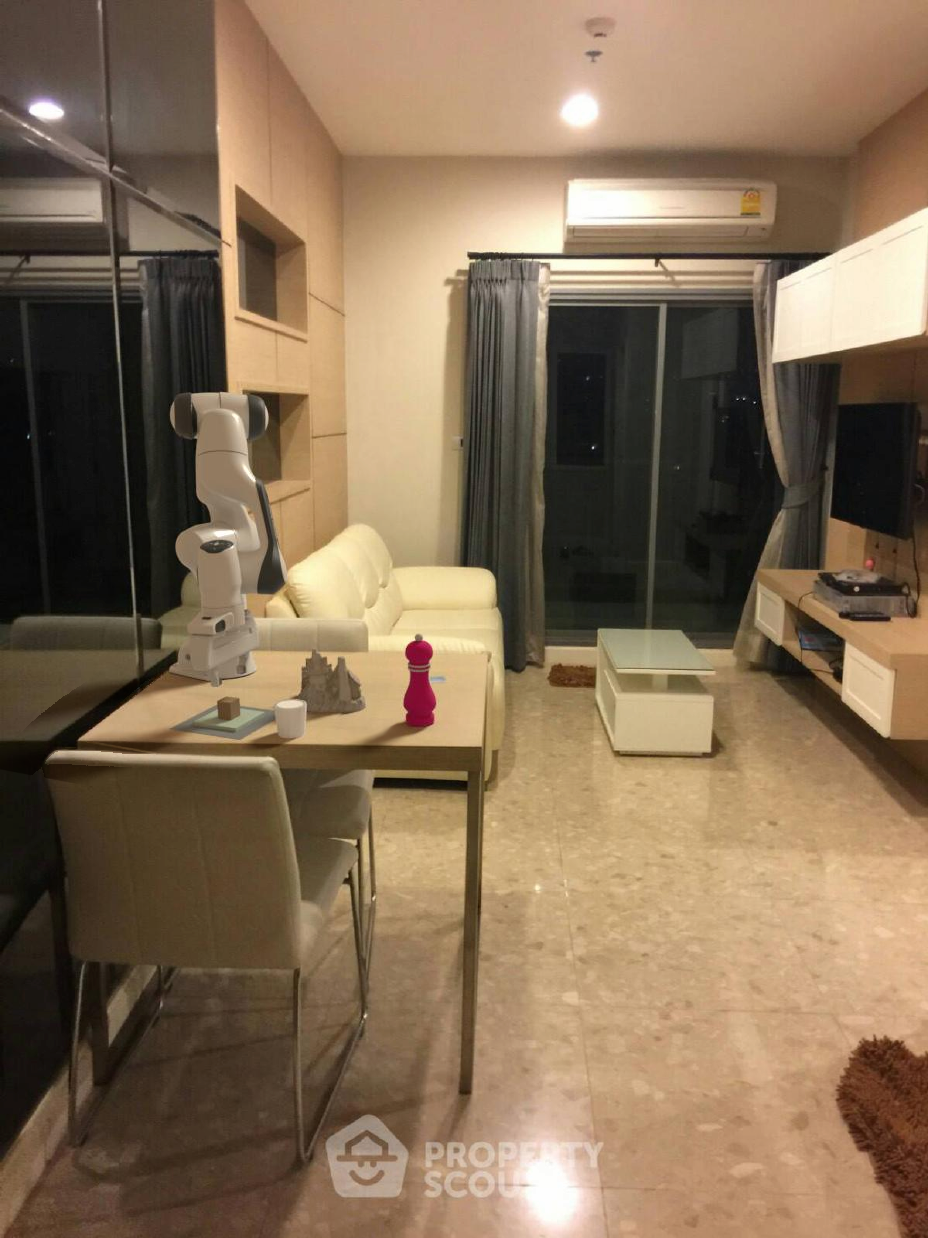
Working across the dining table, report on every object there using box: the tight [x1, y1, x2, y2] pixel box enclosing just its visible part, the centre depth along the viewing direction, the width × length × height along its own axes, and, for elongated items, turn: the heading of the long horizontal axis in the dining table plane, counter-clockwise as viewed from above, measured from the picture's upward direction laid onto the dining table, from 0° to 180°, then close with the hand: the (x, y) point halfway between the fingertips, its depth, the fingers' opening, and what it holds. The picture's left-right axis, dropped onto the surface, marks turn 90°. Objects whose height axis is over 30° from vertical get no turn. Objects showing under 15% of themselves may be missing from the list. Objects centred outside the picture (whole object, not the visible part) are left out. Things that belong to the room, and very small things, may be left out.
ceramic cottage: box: [296, 647, 367, 714], centre depth 214 cm, size 16×16×15 cm
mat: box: [169, 704, 276, 741], centre depth 202 cm, size 18×18×1 cm
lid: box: [193, 695, 265, 732], centre depth 202 cm, size 11×11×5 cm
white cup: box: [273, 698, 307, 739], centre depth 194 cm, size 7×7×7 cm
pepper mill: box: [402, 633, 437, 728], centre depth 200 cm, size 7×7×20 cm
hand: (229, 679), depth 200 cm, fingers open, 8 cm apart
